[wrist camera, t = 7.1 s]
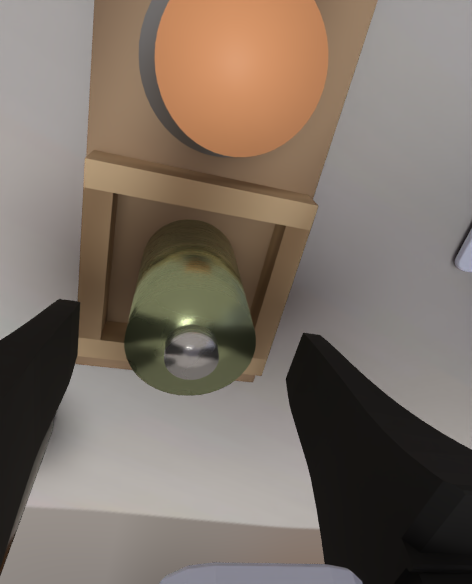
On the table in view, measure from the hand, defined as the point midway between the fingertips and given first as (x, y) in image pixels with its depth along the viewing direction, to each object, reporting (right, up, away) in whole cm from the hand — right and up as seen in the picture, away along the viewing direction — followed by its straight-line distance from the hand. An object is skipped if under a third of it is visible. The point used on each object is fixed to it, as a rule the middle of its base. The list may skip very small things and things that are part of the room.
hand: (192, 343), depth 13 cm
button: (+1, +9, -1) cm, 9 cm away
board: (0, +6, +4) cm, 7 cm away
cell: (-1, +3, +5) cm, 5 cm away
